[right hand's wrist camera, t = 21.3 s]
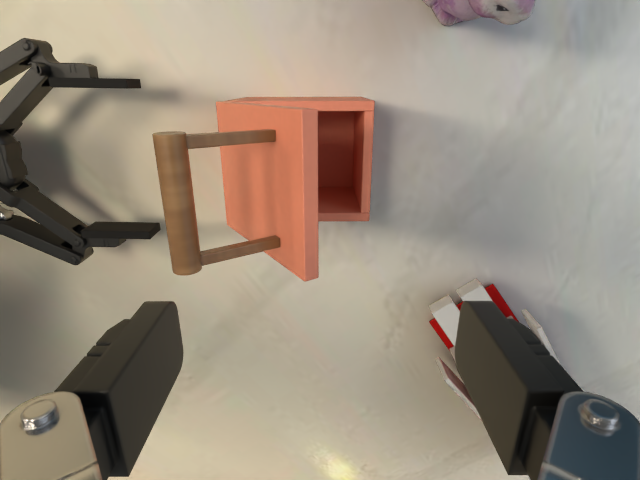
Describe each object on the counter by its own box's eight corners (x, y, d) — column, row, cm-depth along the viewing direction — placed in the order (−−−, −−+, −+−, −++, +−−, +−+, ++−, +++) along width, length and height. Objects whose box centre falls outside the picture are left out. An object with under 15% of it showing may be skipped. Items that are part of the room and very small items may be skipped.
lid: (318, 108, 22) (166, 114, 18) (318, 277, 25) (193, 315, 21) (228, 101, 32) (118, 103, 28) (238, 222, 35) (142, 241, 31)
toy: (521, 287, 39) (656, 501, 44) (480, 249, 52) (588, 417, 57) (414, 347, 42) (552, 542, 47) (400, 296, 55) (509, 454, 59)
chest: (361, 96, 42) (374, 100, 32) (358, 191, 46) (369, 221, 36) (246, 97, 42) (223, 101, 32) (252, 192, 46) (233, 221, 36)
